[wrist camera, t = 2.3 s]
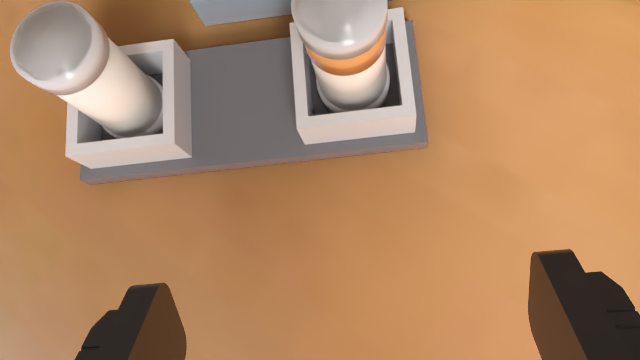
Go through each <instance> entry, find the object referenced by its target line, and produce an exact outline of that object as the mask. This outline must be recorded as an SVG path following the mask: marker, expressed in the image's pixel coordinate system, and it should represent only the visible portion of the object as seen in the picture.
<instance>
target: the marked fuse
mask: <svg viewBox="0 0 640 360" xmlns="http://www.w3.org/2000/svg"><path fill="white" fill-rule="evenodd" d="M291 11H292V16H293V19H294V22H295V25H296V28H297V31H298V34H299V36H300V38H301V40H302V41H303V43H304V44H305V47H306V50H307V53H308V55H309V57H310V59H311V62H312V65H313V68H314V71H315V74H316V84H317V89H318V92H319V95H320V98H321V101H322V103H323V105H324V106H325V108H326V109H327V110H328V111H329V112H330V113H331V114H333V113H341V112H349V111H358V110H366V109H375V108H382V107H383V106H384V104H385V103H386V101H387V99H388V96H389V92H390V74H389V69H388V66H387V64H386V49H385V43H386V25H387V20H388V7H387V0H291Z"/></svg>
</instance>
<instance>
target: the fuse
mask: <svg viewBox="0 0 640 360" xmlns="http://www.w3.org/2000/svg"><path fill="white" fill-rule="evenodd" d="M10 58H11V61H12V64H13V66H14V68H15V70H16V71H17V72H18V73H19V74H20V75H21V76H22V77H23V78H24V79H26V80H27V81H29V82H31V83H32V84H34V85H35V86H37V87H38V88H40V89H41V90H43V91H45V92H47V93H50V94H53V95H57V96H58V97H60V98H61V99H63V100H64V101H66V102H67V103H69V104H70V105H72V106H73V107H75V108H76V109H78V110H79V111H81V112H82V113H84V114H85V115H87V116H88V117H90V118H91V119H93V120H94V121H96V122H97V123H99V124H100V125H102V126H103V128H104V129H105V130H106V131H107V132H108V133H109V134H110V135H112V136H114V137H115V138H117V139H121V138H130V137H138V136H147V135H155V134H163V87H162V86H161V85H160V84H159V83H158V82H157V81H156V80H155V79H153V78H152V77H150V76H148V75H146V74H145V73H144V72H143V71H142V70H141V69H140V68H139V67H138V66H137V65H136V64H135V63H134V62H133V61H132V60H131V59H130V58H129V57H128V56H127V55H126V54H125V53H124V52H123V51H121V50H120V49H119V48H118V47H117V46H116V45H115V44H114V43H113V42H112V41H111V40H110V39H109V38H108V36H107V34H106V32H105V30H104V29H103V27H102V26H101V25H100V24H99V23H98V22H97V21H96V20H95V19H94V18H93V17H92V16H91V15H90V14H89V13H88V12H87V11H86V10H85V9H84V8H82V7H81V6H79V5H77V4H75V3H72V2H68V1H53V2H48V3H45V4H43V5H40V6H38V7H37V8H35V9H33V10H32V11H31V12H29V13H28V14H27V15H26V16H25V17H24V18H23V19H22V20H21V21H20V23H19V24H18V26H17V27H16V29H15V31H14V33H13V36H12V39H11V43H10Z"/></svg>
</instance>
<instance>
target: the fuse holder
mask: <svg viewBox="0 0 640 360" xmlns="http://www.w3.org/2000/svg"><path fill="white" fill-rule="evenodd" d="M117 47H118V48H119V49H120V50H121V51H123V52H124V53H125V54H126V55H127V56H128V57H129V58H130V59H131V60H132V61H133V62H134V63H135V64H136V65H137V66H138V67H139V68H140V69H141V70H142V71H143V72H144V73H145V74H146V75H148V76H150V77H152V78H153V79H155V80H156V81H157V82H158V83H159V84H160V85H161V86H162V87H163V134H155V135H147V136H138V137H130V138H121V139H117V138H115V137H114V136H112V135H110V134H109V133H108V132H107V131H106V130H105V129H104V128H103V126H102V125H100V124H99V123H97V122H96V121H94V120H93V119H91V118H90V117H88V116H87V115H85V114H84V113H82V112H81V111H79V110H78V109H76V108H75V107H73V106H72V105H70V104H69V103H67V128H66V153H65V156H66V157H68V158H70V159H72V160H74V161H76V162H78V163H80V164H81V174H80V181H83V182H85V183H87V184H89V185H91V184H100V183H110V182H119V181H128V180H137V179H146V178H155V177H164V176H173V175H183V174H192V173H201V172H210V171H219V170H228V169H237V168H246V167H255V166H265V165H274V164H283V163H292V162H301V161H310V160H319V159H328V158H338V157H347V156H356V155H365V154H374V153H383V152H392V151H401V150H410V149H420V148H427V145H428V138H427V130H426V122H425V115H424V107H423V99H422V91H421V84H420V76H419V68H418V60H417V52H416V45H415V37H414V29H413V21H412V20H411V21H405V19H404V11H403V7H401V8H394V9H388V20H387V25H386V43H385V49H386V64H387V66H388V69H389V74H390V92H389V96H388V99H387V101H386V103H385V104H384V106H383V107H382V108H375V109H366V110H358V111H349V112H341V113H333V114H331V113H330V112H329V111H328V110H327V109H326V108H325V106H324V105H323V103H322V101H321V98H320V95H319V92H318V89H317V84H316V74H315V71H314V68H313V65H312V62H311V59H310V57H309V55H308V53H307V50H306V47H305V44H304V43H303V41H302V40H301V38H300V36H299V34H298V31H297V28H296V25H295V22H292V23H290V37H285V38H277V39H270V40H262V41H255V42H247V43H240V44H233V45H225V46H218V47H210V48H203V49H195V50H188V51H183V50H182V49H181V48H180V46H179V45H178V44H177V43H176V41H175V40H174V39H168V40H160V41H153V42H146V43H138V44H131V45H124V46H117Z"/></svg>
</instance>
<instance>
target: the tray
mask: <svg viewBox="0 0 640 360" xmlns="http://www.w3.org/2000/svg"><path fill="white" fill-rule="evenodd" d="M387 1H390V0H387ZM190 4H191V5H192V7H193V8H194V10H195V11H196V13H197V15H198V16H199V18H200V19H201V21H202V22H203V24H204V25H205V26H209V25H217V24H224V23H231V22H238V21H246V20H253V19H260V18H267V17H274V16H282V15H289V14H292V11H291V0H190Z"/></svg>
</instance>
